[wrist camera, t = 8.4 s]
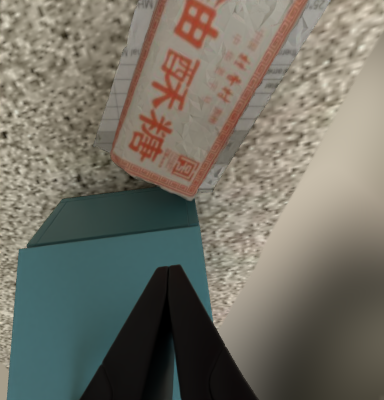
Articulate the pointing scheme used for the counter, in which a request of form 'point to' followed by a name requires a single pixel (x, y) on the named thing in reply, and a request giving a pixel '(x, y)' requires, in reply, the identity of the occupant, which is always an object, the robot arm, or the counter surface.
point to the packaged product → (197, 85)
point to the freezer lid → (87, 305)
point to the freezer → (115, 216)
